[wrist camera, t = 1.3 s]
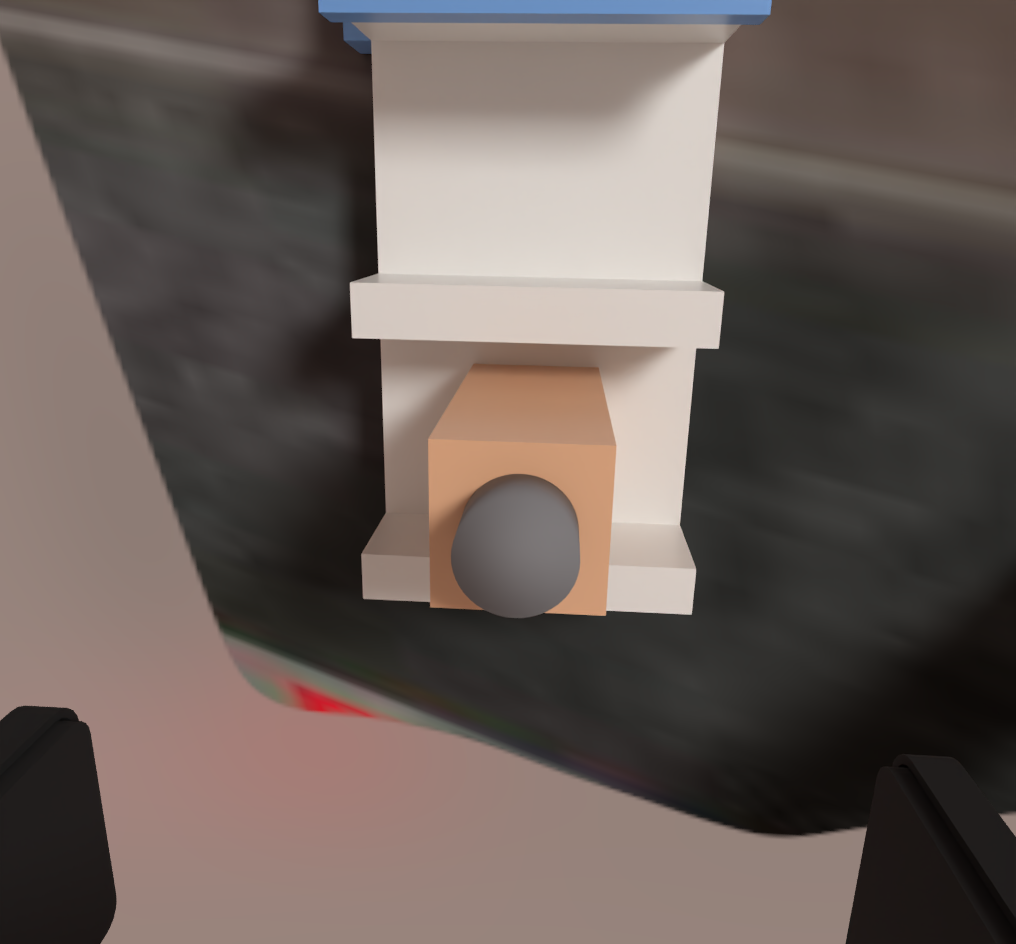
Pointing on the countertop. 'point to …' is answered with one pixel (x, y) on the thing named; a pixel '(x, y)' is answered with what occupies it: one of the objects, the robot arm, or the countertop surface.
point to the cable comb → (543, 240)
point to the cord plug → (522, 493)
